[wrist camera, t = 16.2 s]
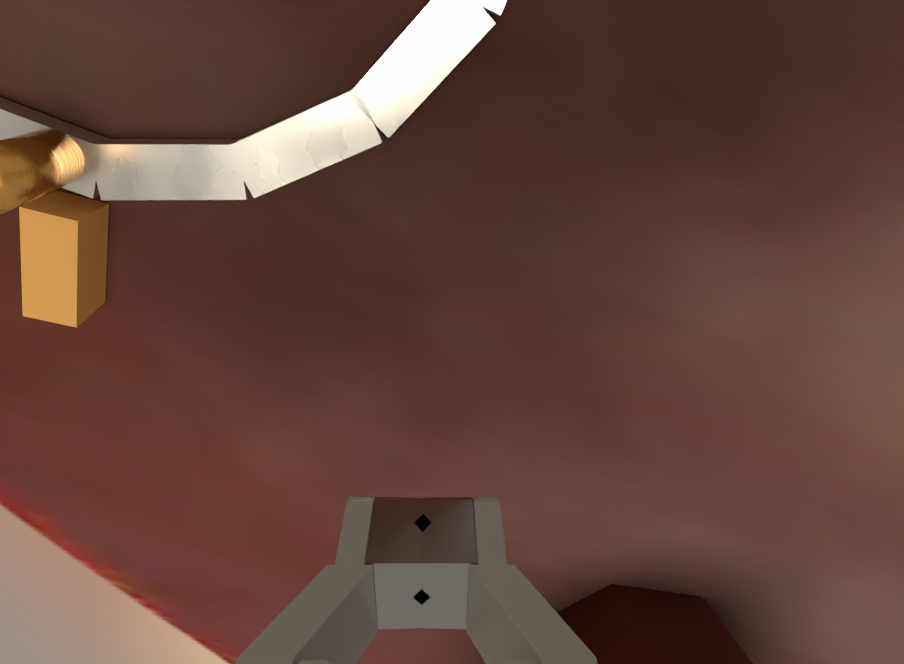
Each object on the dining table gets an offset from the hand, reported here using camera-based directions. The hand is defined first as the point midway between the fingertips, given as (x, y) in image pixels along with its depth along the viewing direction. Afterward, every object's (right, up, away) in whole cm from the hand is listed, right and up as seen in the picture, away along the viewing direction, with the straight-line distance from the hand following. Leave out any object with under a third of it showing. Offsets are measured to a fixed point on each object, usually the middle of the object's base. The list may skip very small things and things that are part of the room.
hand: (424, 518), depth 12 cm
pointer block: (-18, +8, +18) cm, 27 cm away
